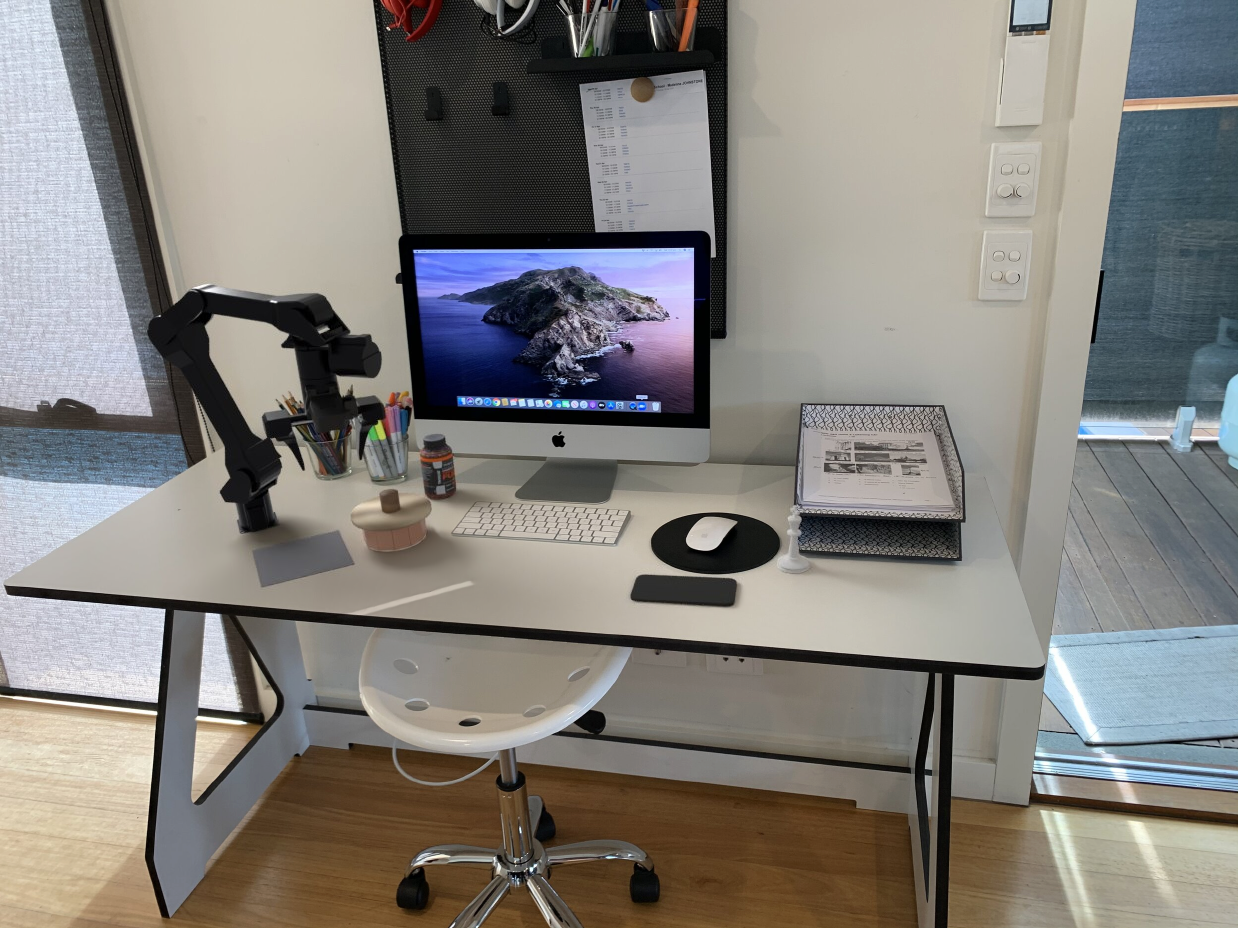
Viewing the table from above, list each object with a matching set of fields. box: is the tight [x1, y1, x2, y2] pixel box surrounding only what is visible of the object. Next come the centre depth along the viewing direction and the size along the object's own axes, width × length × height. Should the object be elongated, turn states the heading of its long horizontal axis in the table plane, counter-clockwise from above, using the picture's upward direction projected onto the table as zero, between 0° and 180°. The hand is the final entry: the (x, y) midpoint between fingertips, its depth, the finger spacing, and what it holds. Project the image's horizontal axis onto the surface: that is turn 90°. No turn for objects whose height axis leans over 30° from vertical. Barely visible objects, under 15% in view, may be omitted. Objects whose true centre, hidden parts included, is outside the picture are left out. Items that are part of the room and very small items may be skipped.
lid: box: [350, 488, 433, 531], centre depth 148 cm, size 13×13×4 cm
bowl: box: [361, 518, 428, 553], centre depth 149 cm, size 10×10×5 cm
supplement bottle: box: [419, 433, 457, 500], centre depth 165 cm, size 6×6×11 cm
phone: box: [629, 574, 738, 608], centre depth 131 cm, size 7×1×15 cm
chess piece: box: [776, 504, 811, 574], centre depth 134 cm, size 5×5×10 cm
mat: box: [251, 529, 355, 588], centre depth 145 cm, size 14×14×1 cm
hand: (332, 464), depth 149 cm, fingers open, 9 cm apart
